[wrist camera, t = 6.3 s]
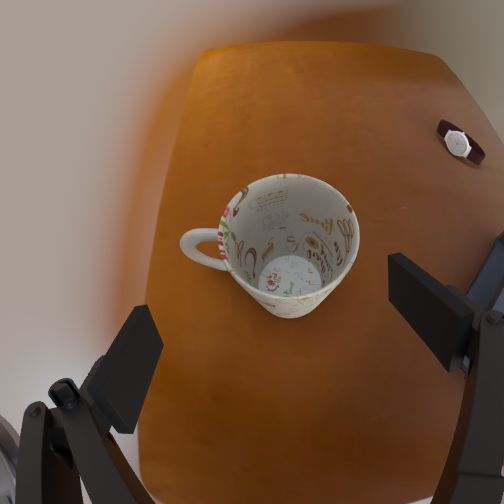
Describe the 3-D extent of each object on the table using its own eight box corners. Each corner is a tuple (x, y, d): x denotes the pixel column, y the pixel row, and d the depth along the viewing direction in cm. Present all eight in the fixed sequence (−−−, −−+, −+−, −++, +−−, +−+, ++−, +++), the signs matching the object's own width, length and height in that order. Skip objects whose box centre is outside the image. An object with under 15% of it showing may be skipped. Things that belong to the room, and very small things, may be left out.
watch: (429, 136, 32) (436, 116, 29) (443, 125, 33) (451, 107, 29) (472, 174, 29) (483, 156, 25) (484, 160, 29) (494, 143, 26)
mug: (334, 335, 24) (359, 304, 15) (190, 319, 26) (138, 282, 17) (338, 246, 27) (357, 177, 18) (207, 236, 29) (173, 171, 20)
